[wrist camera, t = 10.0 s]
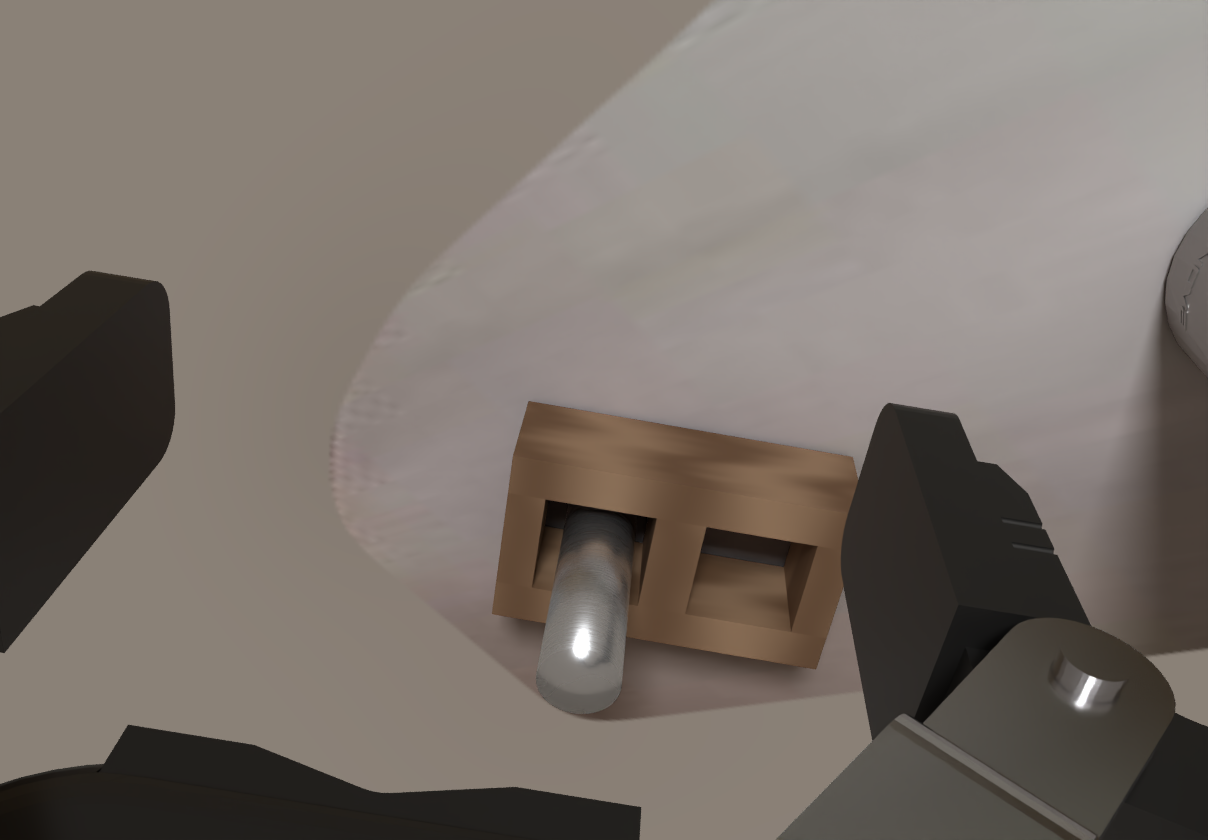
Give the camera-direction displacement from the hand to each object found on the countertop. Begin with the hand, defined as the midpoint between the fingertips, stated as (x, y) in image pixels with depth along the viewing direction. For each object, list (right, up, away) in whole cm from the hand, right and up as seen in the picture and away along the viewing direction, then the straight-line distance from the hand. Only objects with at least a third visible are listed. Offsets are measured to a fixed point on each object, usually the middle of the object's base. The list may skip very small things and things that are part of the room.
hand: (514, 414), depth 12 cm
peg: (+1, -3, +36) cm, 37 cm away
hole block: (+4, -4, +36) cm, 37 cm away
